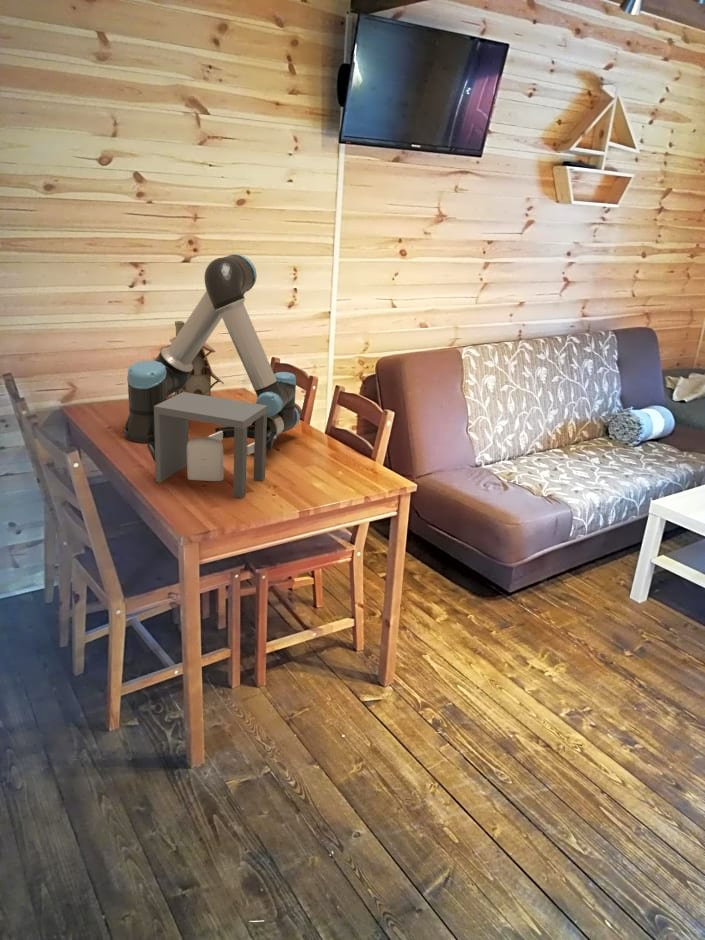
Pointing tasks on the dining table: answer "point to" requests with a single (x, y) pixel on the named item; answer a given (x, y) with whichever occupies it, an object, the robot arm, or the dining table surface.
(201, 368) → the miniature house
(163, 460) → the low shelf
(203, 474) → the photo printer
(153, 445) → the phone
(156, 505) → the dining table surface
